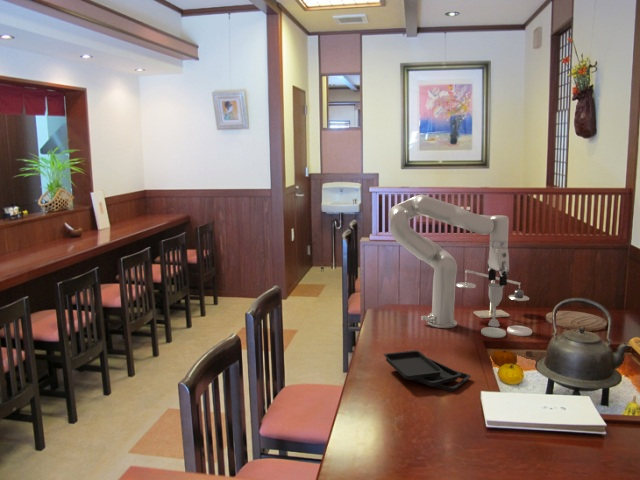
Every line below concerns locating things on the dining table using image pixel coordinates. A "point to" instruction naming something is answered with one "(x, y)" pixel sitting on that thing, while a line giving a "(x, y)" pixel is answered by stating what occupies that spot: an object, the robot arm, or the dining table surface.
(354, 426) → the dining table surface
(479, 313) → the balance
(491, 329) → the dish left
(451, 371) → the tray
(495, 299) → the chalice
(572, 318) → the trivet
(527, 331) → the dish right
